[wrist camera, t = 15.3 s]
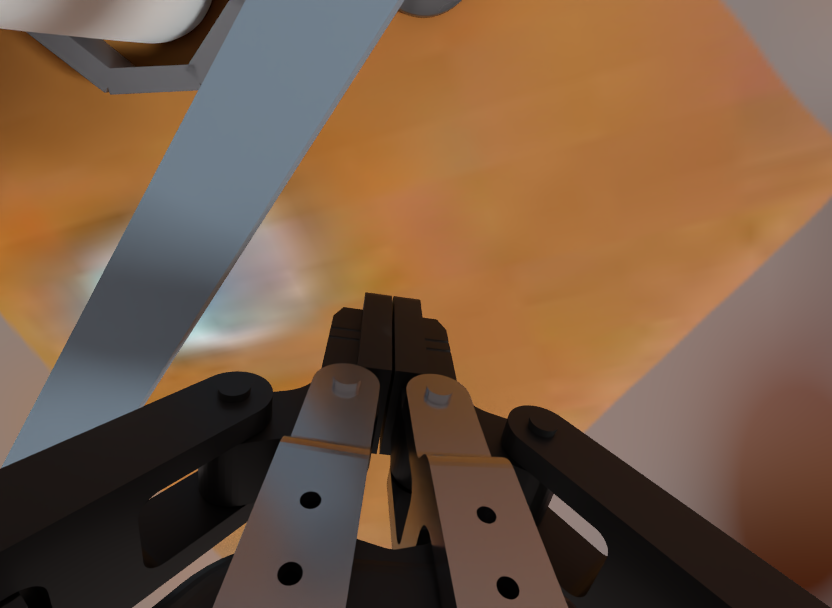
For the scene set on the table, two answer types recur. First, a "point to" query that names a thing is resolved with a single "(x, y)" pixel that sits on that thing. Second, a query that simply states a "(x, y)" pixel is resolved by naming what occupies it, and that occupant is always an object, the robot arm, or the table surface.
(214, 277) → the swing arm
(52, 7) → the can
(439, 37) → the table surface
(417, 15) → the pivot post
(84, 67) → the collar
